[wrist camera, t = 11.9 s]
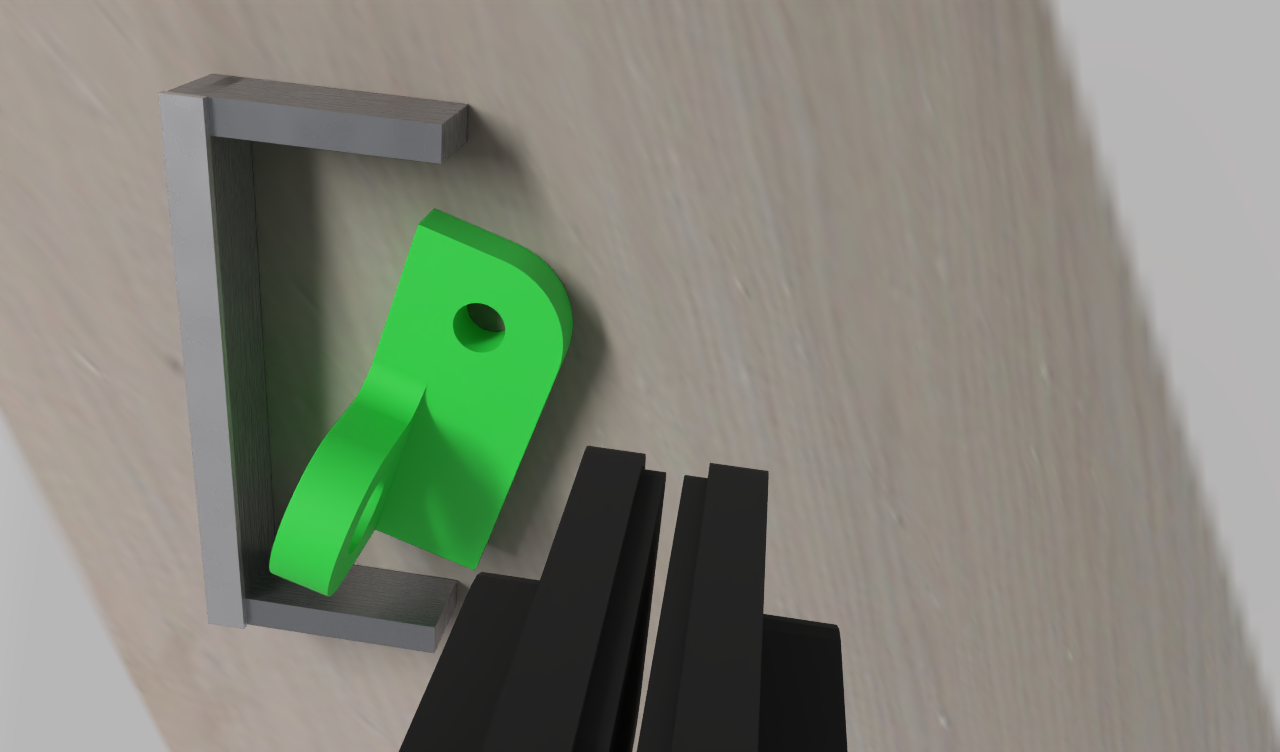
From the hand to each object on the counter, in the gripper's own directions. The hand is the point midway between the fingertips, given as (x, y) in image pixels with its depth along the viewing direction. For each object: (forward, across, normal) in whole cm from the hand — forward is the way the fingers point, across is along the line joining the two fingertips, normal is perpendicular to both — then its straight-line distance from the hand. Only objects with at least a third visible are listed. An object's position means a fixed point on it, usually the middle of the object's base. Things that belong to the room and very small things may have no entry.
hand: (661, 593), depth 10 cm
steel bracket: (+27, +13, +12) cm, 33 cm away
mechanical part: (+28, +9, +12) cm, 31 cm away
